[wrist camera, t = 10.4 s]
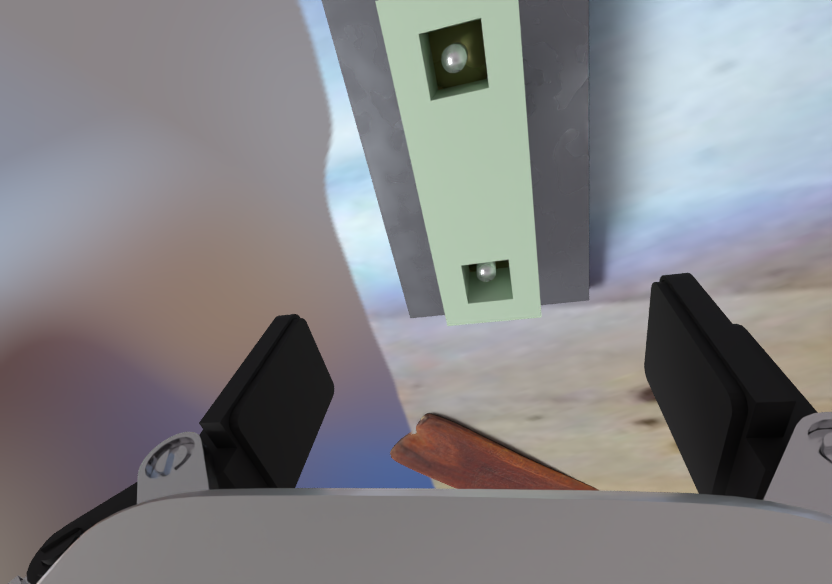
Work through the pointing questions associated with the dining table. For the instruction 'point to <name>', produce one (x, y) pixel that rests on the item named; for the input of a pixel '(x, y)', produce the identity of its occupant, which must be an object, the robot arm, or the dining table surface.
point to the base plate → (547, 132)
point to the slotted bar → (469, 156)
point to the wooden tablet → (473, 460)
